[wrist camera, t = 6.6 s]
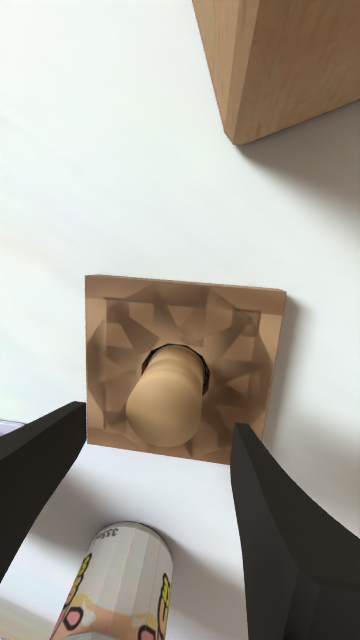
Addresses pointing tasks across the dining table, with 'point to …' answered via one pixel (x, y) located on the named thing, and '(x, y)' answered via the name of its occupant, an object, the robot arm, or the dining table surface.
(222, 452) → the board
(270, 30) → the wooden block
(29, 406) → the dining table surface
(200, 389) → the peg
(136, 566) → the beverage can
